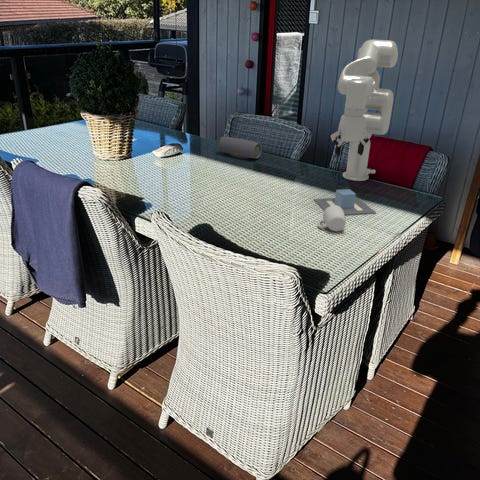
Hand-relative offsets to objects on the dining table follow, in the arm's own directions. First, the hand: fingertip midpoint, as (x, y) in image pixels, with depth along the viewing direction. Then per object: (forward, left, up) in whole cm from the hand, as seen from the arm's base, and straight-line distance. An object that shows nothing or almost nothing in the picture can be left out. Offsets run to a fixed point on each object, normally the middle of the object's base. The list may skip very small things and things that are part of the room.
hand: (348, 154), depth 196 cm
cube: (+1, +3, -21) cm, 21 cm away
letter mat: (+1, +4, -21) cm, 21 cm away
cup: (+16, +27, -19) cm, 37 cm away
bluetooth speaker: (+28, -74, -22) cm, 82 cm away
